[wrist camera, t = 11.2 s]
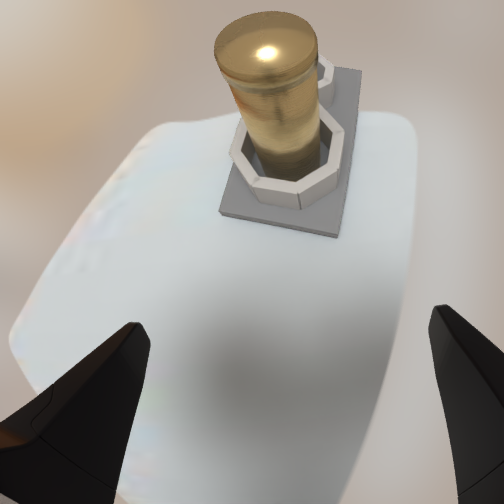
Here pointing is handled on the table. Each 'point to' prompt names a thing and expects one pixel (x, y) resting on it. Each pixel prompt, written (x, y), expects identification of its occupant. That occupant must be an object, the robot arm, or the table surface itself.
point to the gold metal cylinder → (275, 89)
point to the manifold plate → (322, 209)
